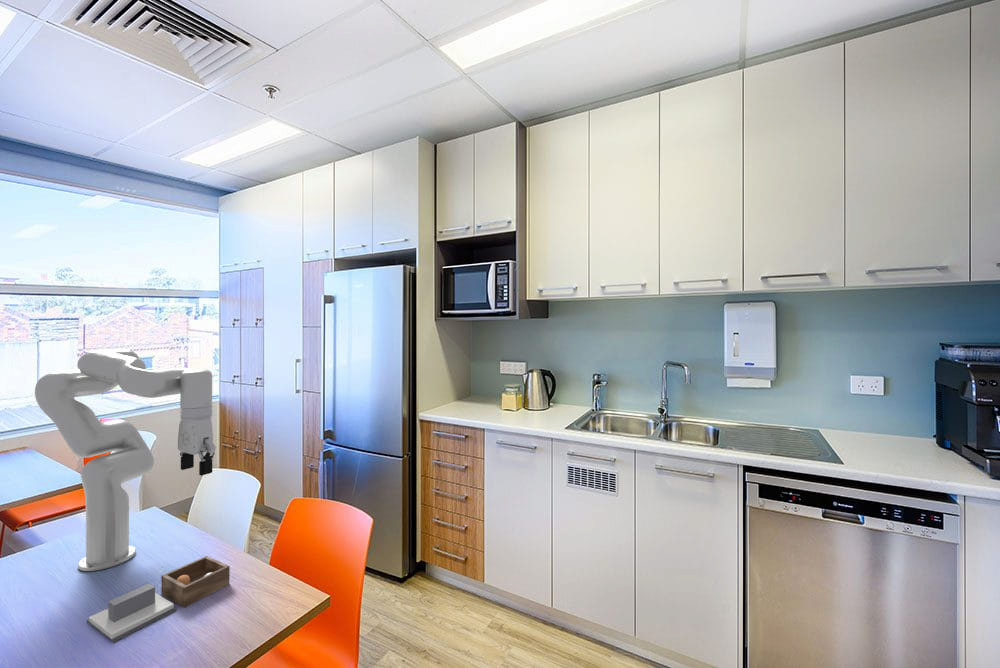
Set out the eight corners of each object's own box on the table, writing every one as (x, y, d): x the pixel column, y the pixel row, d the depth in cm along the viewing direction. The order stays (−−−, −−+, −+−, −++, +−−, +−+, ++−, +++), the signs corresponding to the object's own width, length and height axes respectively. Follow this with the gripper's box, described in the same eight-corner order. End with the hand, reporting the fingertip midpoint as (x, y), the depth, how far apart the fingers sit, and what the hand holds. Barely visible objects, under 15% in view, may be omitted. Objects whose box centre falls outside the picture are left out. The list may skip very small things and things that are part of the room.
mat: (86, 621, 100) (86, 620, 100) (147, 593, 110) (147, 592, 110) (114, 642, 93) (114, 640, 93) (176, 610, 104) (176, 609, 104)
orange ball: (172, 589, 111) (172, 577, 111) (186, 582, 114) (186, 571, 114) (179, 592, 109) (179, 580, 109) (192, 586, 112) (192, 574, 112)
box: (161, 594, 110) (161, 575, 110) (206, 573, 120) (206, 555, 120) (184, 607, 105) (184, 587, 105) (229, 584, 115) (229, 566, 115)
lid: (88, 621, 99) (88, 600, 99) (149, 593, 110) (149, 574, 110) (111, 639, 94) (111, 617, 94) (173, 607, 104) (173, 587, 104)
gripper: (166, 411, 122) (165, 470, 123) (198, 418, 114) (198, 480, 115) (194, 407, 129) (194, 463, 129) (227, 413, 121) (227, 472, 121)
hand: (196, 471), depth 122 cm, fingers open, 9 cm apart
